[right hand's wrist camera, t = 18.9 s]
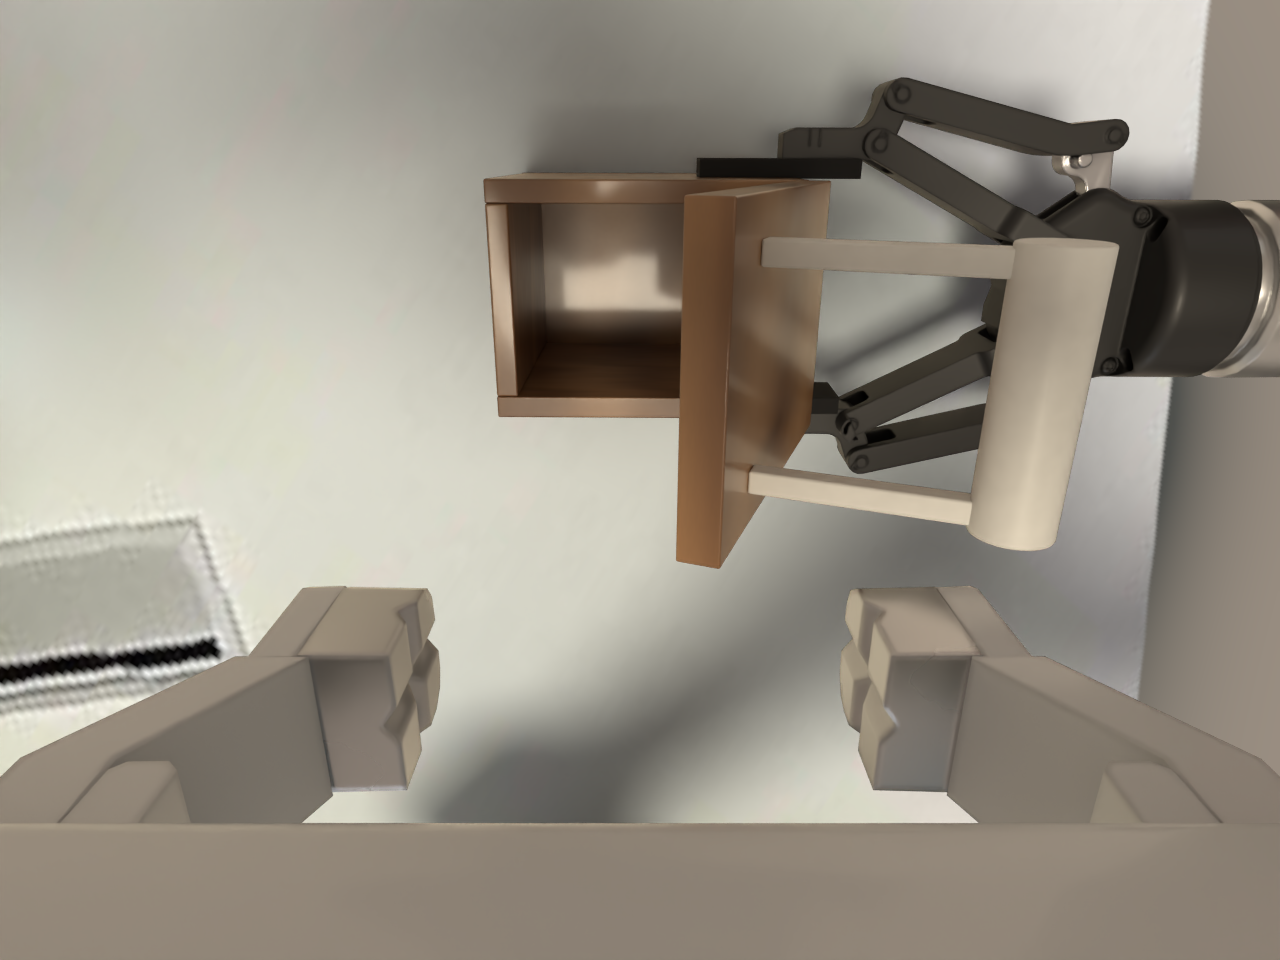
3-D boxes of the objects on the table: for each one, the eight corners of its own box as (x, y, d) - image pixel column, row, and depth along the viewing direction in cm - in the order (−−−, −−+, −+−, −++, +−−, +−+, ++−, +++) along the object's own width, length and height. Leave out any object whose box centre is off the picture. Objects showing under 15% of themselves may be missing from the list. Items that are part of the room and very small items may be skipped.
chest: (533, 355, 44) (498, 417, 33) (524, 172, 40) (482, 178, 30) (757, 356, 44) (792, 419, 33) (768, 173, 40) (810, 179, 30)
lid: (675, 562, 22) (1058, 631, 18) (683, 194, 18) (1154, 204, 15) (780, 422, 33) (1027, 450, 30) (797, 180, 29) (1079, 184, 26)
